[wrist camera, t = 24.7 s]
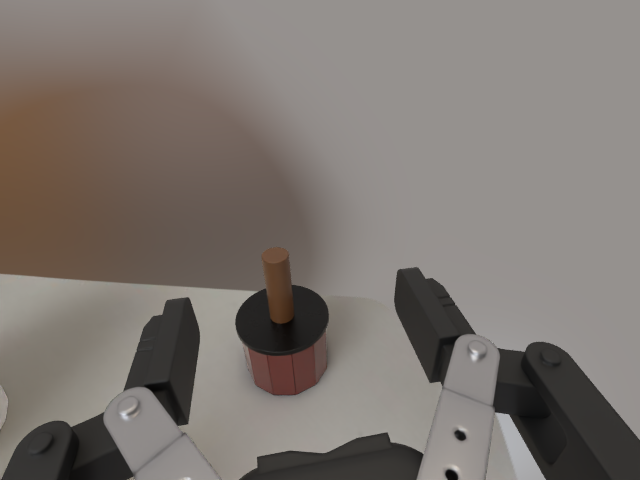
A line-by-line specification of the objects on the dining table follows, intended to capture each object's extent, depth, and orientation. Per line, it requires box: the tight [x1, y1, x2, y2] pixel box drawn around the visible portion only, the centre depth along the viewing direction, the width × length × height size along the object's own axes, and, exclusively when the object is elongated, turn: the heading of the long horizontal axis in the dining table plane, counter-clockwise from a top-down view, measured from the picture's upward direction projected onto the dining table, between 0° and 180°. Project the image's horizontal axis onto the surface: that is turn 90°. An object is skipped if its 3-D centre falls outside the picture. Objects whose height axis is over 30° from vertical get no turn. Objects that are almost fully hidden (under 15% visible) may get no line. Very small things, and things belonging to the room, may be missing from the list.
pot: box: [242, 331, 327, 395], centre depth 42 cm, size 9×9×7 cm
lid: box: [235, 247, 329, 356], centre depth 37 cm, size 10×10×9 cm
